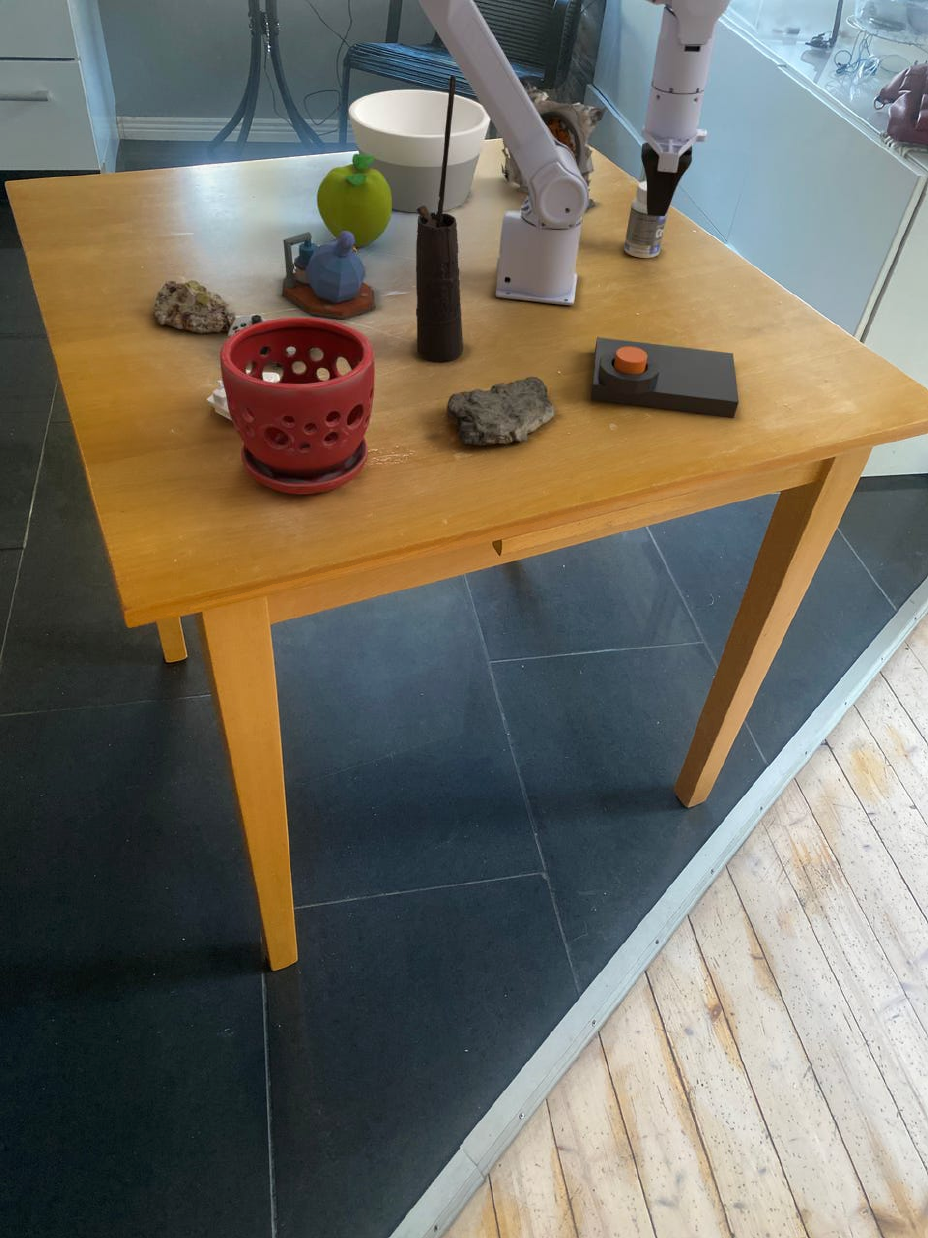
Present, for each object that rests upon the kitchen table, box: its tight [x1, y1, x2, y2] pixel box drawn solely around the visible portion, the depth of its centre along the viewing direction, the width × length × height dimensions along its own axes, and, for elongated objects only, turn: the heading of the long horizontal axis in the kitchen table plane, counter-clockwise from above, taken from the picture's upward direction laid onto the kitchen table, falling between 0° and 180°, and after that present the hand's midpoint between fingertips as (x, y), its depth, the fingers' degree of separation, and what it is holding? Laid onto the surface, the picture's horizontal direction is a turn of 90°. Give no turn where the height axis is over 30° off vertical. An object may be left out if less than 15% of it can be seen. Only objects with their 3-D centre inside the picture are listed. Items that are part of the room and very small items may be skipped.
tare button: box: [614, 347, 647, 375], centre depth 98 cm, size 3×3×2 cm
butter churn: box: [415, 74, 464, 363], centre depth 96 cm, size 9×10×28 cm
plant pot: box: [219, 316, 376, 495], centre depth 85 cm, size 13×13×12 cm
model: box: [281, 231, 377, 321], centre depth 109 cm, size 12×9×9 cm
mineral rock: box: [154, 279, 236, 334], centre depth 106 cm, size 11×4×8 cm
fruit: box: [316, 153, 393, 248], centre depth 120 cm, size 9×9×10 cm
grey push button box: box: [590, 336, 740, 418], centre depth 101 cm, size 15×11×4 cm
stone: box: [446, 376, 555, 446], centre depth 94 cm, size 14×8×3 cm, turn 123°
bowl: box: [348, 89, 491, 214], centre depth 132 cm, size 19×19×11 cm
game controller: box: [227, 314, 316, 368], centre depth 102 cm, size 10×5×6 cm
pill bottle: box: [623, 180, 669, 259], centre depth 123 cm, size 5×5×8 cm
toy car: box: [206, 369, 281, 421], centre depth 94 cm, size 5×8×4 cm, turn 142°
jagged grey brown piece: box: [501, 79, 607, 211], centre depth 133 cm, size 15×4×13 cm, turn 54°
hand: (656, 213), depth 111 cm, fingers closed
